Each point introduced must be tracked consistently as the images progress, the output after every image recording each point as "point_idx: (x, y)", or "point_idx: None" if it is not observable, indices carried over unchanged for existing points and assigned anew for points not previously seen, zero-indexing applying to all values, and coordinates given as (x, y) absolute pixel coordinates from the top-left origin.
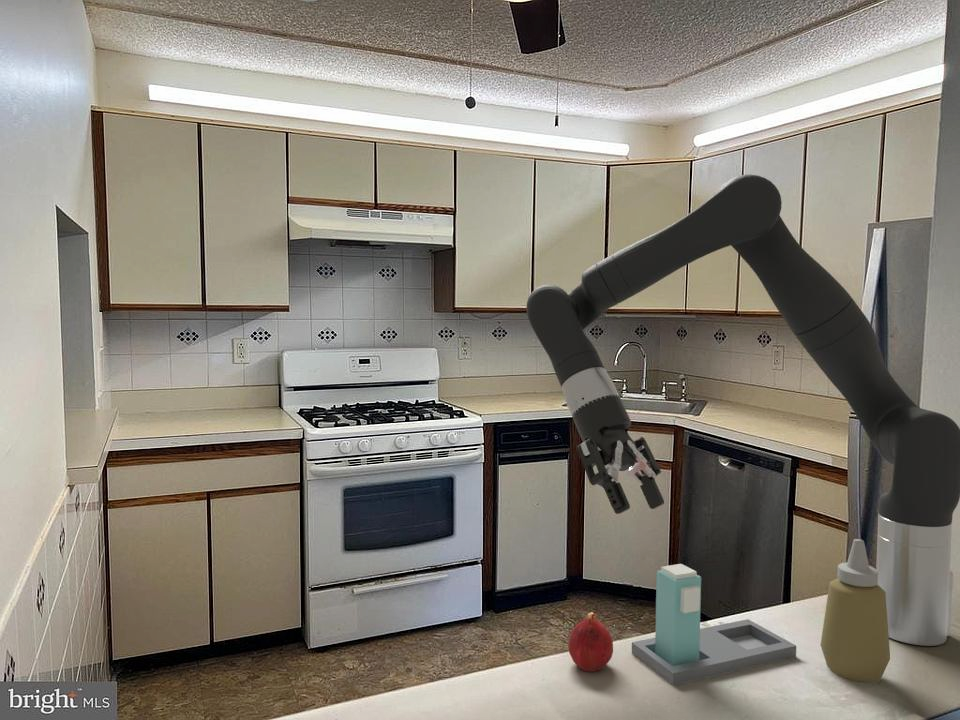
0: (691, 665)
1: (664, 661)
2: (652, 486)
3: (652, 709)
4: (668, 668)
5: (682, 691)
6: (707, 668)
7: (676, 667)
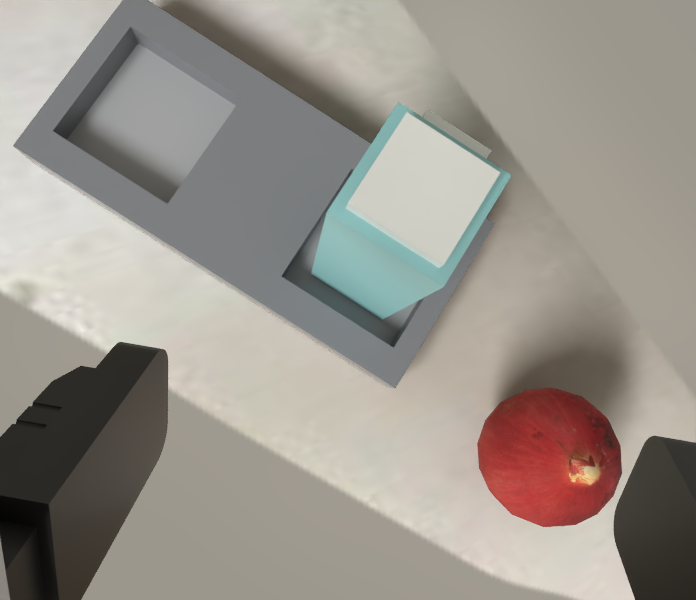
0: None
1: None
2: (85, 472)
3: (573, 248)
4: (479, 242)
5: None
6: None
7: None
